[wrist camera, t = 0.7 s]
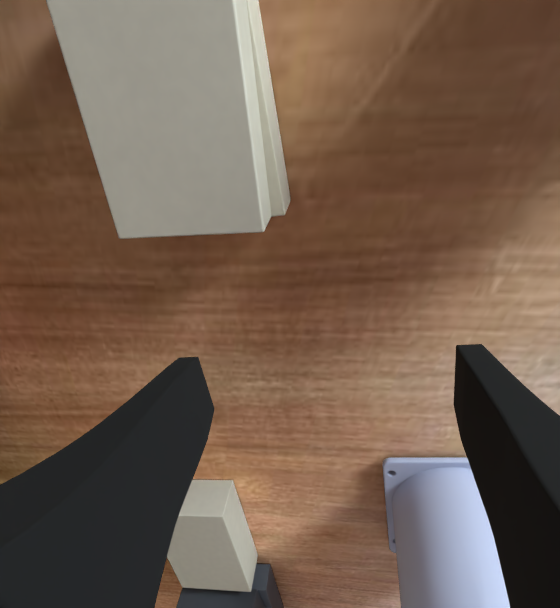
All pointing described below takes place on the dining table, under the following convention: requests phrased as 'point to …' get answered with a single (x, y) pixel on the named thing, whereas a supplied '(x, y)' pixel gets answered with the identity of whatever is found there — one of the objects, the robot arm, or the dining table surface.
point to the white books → (177, 112)
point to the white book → (213, 539)
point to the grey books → (236, 594)
